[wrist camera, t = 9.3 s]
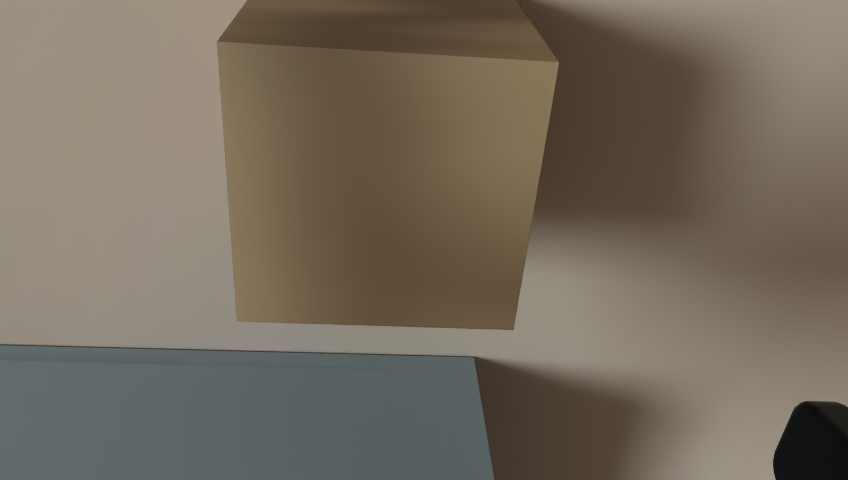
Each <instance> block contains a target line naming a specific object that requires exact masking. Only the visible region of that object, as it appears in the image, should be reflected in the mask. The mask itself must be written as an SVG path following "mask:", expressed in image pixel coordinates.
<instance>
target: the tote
mask: <svg viewBox="0 0 848 480" xmlns="http://www.w3.org/2000/svg"><path fill="white" fill-rule="evenodd" d="M0 480H494V474H493V469H492V463H491V457H490V451H489V445H488V439H487V433H486V427H485V421H484V415H483V409H482V403H481V397H480V391H479V385H478V379H477V373H476V367H475V361H474V357H442V356H403V355H364V354H325V353H286V352H246V351H207V350H168V349H129V348H90V347H51V346H12V345H0Z"/></svg>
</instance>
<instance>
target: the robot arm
mask: <svg viewBox="0 0 848 480" xmlns="http://www.w3.org/2000/svg"><path fill="white" fill-rule="evenodd" d="M773 469H774V475H775V478H776V480H848V407H846V406H845V405H843V404H840V403H837V402H824V401H805V402H801V403H800V404H798V405H797V406H796V407H795V408H794V410H793V412H792V414H791V416H790V419H789V421H788V423H787V425H786V428H785V430H784V432H783V434H782V437H781V439H780V441H779V444H778V446H777V448H776V450H775V453H774V459H773Z"/></svg>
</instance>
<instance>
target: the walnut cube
mask: <svg viewBox="0 0 848 480" xmlns="http://www.w3.org/2000/svg"><path fill="white" fill-rule="evenodd" d="M217 48H218V62H219V76H220V90H221V104H222V118H223V132H224V146H225V160H226V174H227V188H228V202H229V216H230V230H231V244H232V258H233V272H234V286H235V300H236V314H237V321H238V322H271V323H303V324H336V325H369V326H402V327H434V328H467V329H500V330H513V329H514V323H515V317H516V311H517V306H518V300H519V294H520V288H521V282H522V276H523V271H524V265H525V259H526V253H527V247H528V242H529V236H530V230H531V224H532V218H533V212H534V207H535V201H536V195H537V189H538V183H539V177H540V172H541V166H542V160H543V154H544V148H545V142H546V137H547V131H548V125H549V119H550V113H551V107H552V102H553V96H554V90H555V84H556V78H557V72H558V67H559V61H558V60H557V58H556V57H555V56H554V54H553V53H552V51H551V50H550V48H549V47H548V46H547V44H546V43H545V41H544V40H543V38H542V37H541V36H540V34H539V33H538V31H537V30H536V28H535V27H534V26H533V24H532V23H531V21H530V20H529V18H528V17H527V16H526V14H525V13H524V11H523V10H522V8H521V7H520V6H519V4H518V3H517V1H516V0H247V2H246V3H245V4H244V6H243V7H242V8H241V10H240V11H239V12H238V14H237V15H236V17H235V18H234V19H233V21H232V22H231V23H230V25H229V26H228V27H227V29H226V30H225V32H224V33H223V34H222V36H221V37H220V38H219V40H218V41H217Z"/></svg>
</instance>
